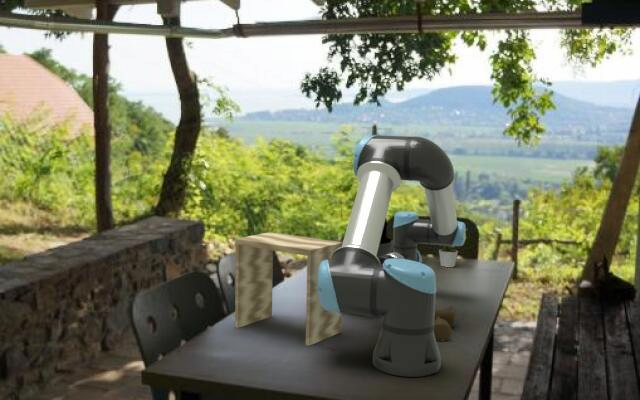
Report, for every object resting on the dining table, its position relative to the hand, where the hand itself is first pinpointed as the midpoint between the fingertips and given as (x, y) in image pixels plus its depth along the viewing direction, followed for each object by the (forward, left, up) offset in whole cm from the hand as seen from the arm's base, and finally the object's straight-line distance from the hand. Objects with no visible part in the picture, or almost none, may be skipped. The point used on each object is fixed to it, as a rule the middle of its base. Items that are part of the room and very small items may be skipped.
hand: (348, 280), depth 191 cm
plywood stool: (-14, +15, -10) cm, 23 cm away
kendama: (-8, -24, -11) cm, 28 cm away
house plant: (+74, -35, -11) cm, 83 cm away
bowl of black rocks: (+69, -3, -11) cm, 70 cm away
